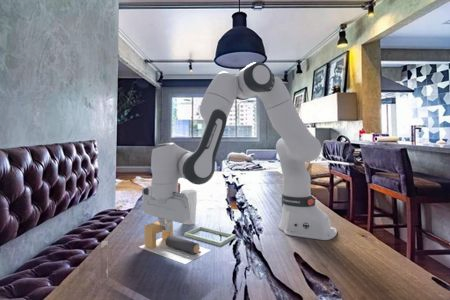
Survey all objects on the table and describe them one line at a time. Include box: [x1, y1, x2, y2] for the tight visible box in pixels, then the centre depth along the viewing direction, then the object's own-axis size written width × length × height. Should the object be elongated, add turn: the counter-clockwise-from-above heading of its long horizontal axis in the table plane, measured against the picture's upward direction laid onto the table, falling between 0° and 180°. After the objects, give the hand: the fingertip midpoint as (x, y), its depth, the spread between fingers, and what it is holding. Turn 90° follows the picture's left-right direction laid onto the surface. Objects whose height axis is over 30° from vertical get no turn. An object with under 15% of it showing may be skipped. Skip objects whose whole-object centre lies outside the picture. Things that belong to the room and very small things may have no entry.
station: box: [138, 237, 212, 265], centre depth 89 cm, size 22×12×2 cm, turn 54°
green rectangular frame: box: [183, 225, 236, 247], centre depth 99 cm, size 17×9×2 cm, turn 54°
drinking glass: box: [180, 189, 198, 226], centre depth 116 cm, size 7×7×15 cm
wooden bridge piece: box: [143, 220, 174, 249], centre depth 93 cm, size 4×9×7 cm, turn 144°
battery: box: [166, 235, 201, 255], centre depth 88 cm, size 13×4×4 cm, turn 54°
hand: (165, 230), depth 91 cm, fingers closed
